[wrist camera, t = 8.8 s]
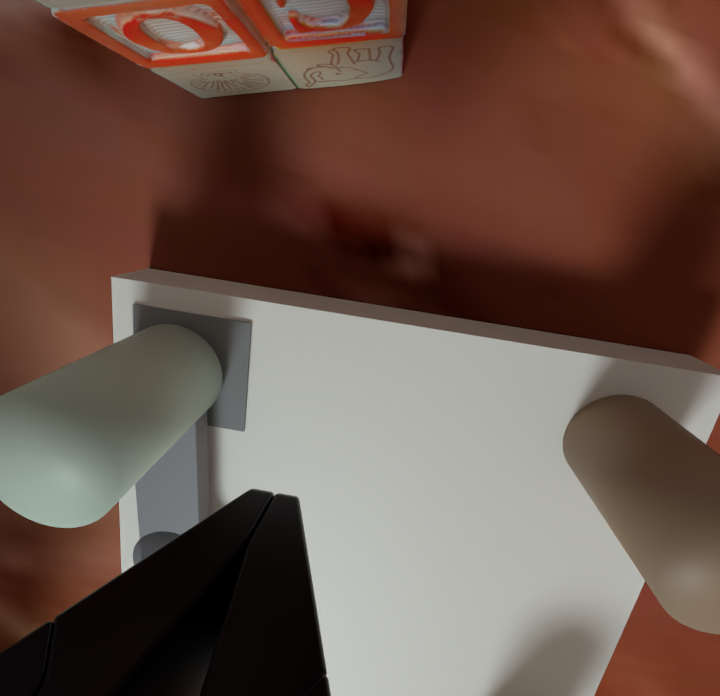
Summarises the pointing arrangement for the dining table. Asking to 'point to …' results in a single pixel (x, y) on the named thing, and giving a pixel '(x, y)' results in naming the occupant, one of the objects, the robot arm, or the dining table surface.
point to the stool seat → (456, 481)
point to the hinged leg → (115, 436)
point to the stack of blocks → (248, 40)
